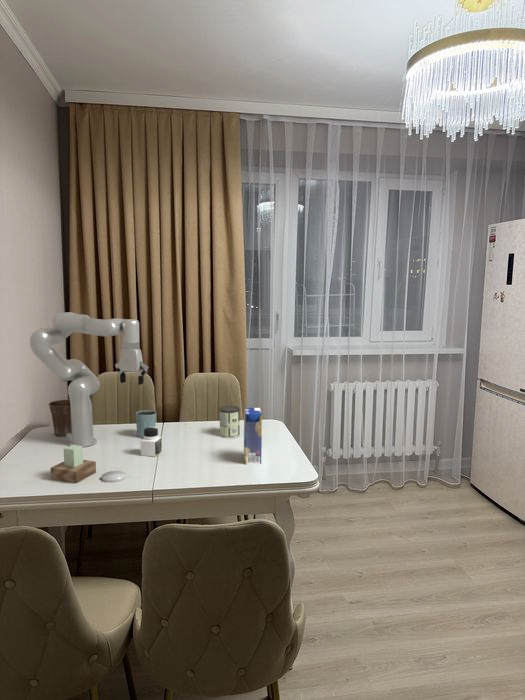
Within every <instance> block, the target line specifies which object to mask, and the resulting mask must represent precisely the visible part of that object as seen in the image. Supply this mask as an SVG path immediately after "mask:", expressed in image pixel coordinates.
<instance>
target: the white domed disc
mask: <svg viewBox="0 0 525 700" xmlns="http://www.w3.org/2000/svg"><path fill="white" fill-rule="evenodd" d="M126 478H127V477H126V472H125V471H123V470H111V471H107V472H104V473H102V474H101V481H103V482H104V483H105V482H106V483H117V482H118V483H119V482H121V481H123V480H125V479H126Z"/></svg>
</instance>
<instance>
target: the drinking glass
mask: <svg viewBox="0 0 525 700" xmlns="http://www.w3.org/2000/svg"><path fill="white" fill-rule="evenodd" d="M135 421H136V422H135V423H136V435H137V438H139V439H143V438H145V437H144V429H145V428H147V427H156V421H157V411H154V410H148V409H147V410H146V409H144V410H139V411H138V410H137V411H136V412H135Z"/></svg>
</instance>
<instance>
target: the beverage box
mask: <svg viewBox="0 0 525 700" xmlns="http://www.w3.org/2000/svg"><path fill="white" fill-rule="evenodd" d="M262 419H263V414H262V411H261V407H244V408H243V459H244V464H245V465H261V464H262V445H263V444H262V443H263V442H262V439H263V438H262V436H263V434H262V433H263V432H262V431H263V429H262V427H263V420H262Z"/></svg>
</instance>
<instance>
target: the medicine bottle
mask: <svg viewBox="0 0 525 700" xmlns="http://www.w3.org/2000/svg"><path fill="white" fill-rule="evenodd" d="M144 437H145V438H141V440H140V456H143V457H154V458H155V457H157V456H158V455H160V453H162V451H163V450H162V445H163V444H162V441H163V440H162V437H161V436H159V430H158V428H157V427H156V426H155V427H147V428H145V429H144Z"/></svg>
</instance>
